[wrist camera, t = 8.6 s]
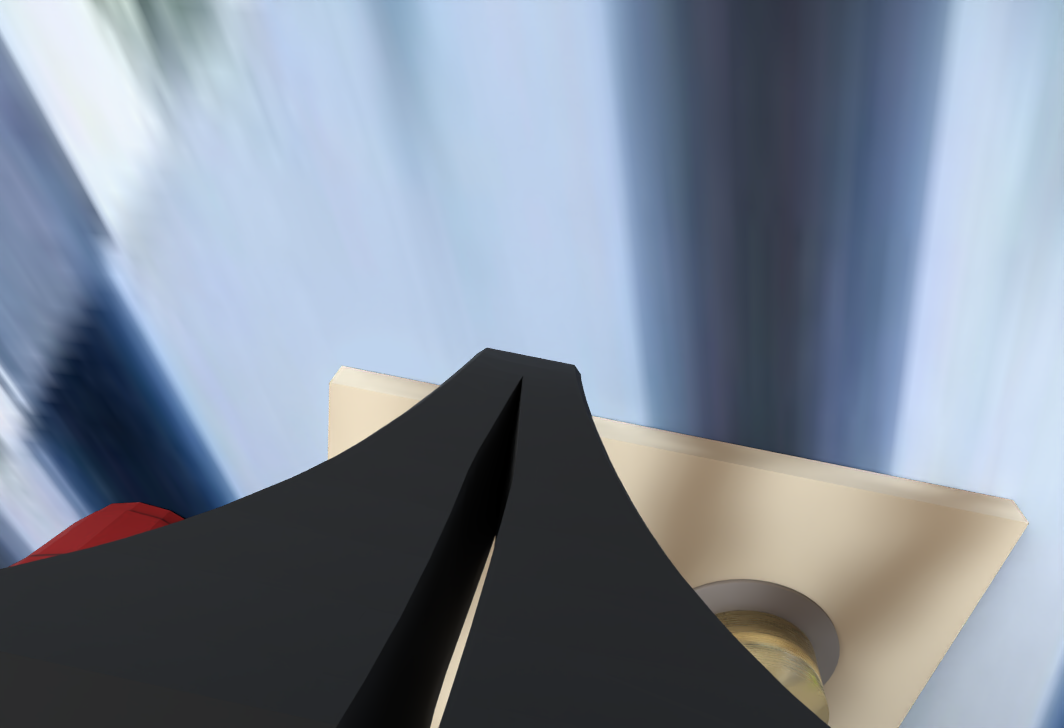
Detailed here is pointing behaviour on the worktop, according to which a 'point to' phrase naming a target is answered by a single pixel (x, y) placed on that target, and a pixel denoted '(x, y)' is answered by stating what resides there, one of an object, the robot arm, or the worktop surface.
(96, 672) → the robot arm
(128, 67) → the worktop surface
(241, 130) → the worktop surface
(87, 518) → the plastic cup
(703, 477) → the dial board
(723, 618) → the lever
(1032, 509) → the worktop surface
